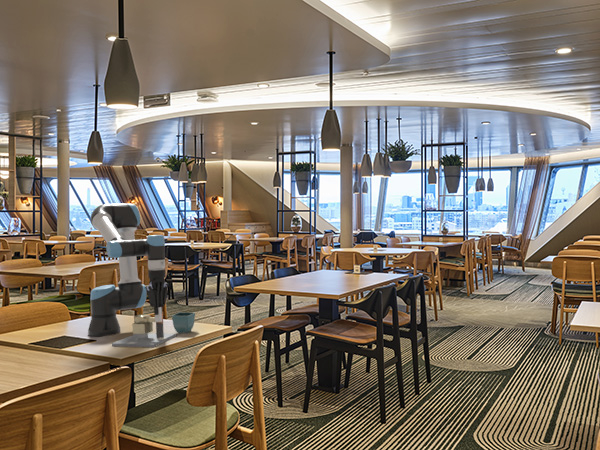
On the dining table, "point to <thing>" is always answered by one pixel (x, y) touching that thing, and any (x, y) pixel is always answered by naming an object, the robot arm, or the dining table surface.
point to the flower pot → (183, 322)
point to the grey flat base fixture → (145, 338)
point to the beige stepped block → (143, 324)
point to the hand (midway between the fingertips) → (158, 321)
